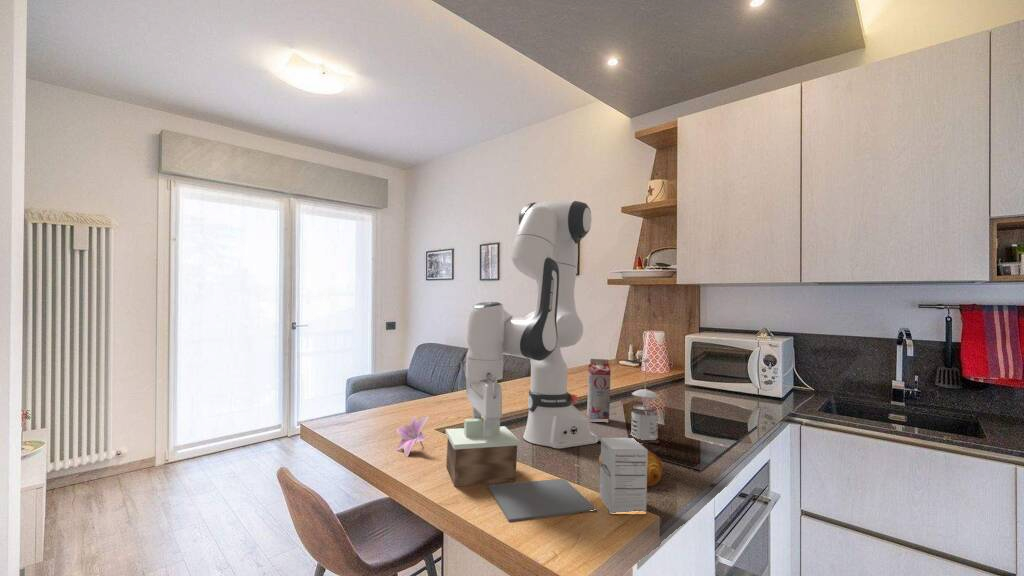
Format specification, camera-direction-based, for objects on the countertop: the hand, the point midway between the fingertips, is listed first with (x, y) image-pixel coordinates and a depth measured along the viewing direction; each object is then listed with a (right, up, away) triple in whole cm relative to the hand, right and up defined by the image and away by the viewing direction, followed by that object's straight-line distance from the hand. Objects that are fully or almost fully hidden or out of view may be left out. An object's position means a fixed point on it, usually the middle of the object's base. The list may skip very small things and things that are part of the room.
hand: (481, 429), depth 98 cm
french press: (+49, -14, +33) cm, 60 cm away
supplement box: (+29, -11, -14) cm, 34 cm away
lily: (-20, -10, +14) cm, 26 cm away
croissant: (+36, -12, +3) cm, 38 cm away
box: (0, -10, -1) cm, 10 cm away
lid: (0, -3, 0) cm, 3 cm away
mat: (+13, -10, -12) cm, 20 cm away
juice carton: (+38, -15, +53) cm, 67 cm away
